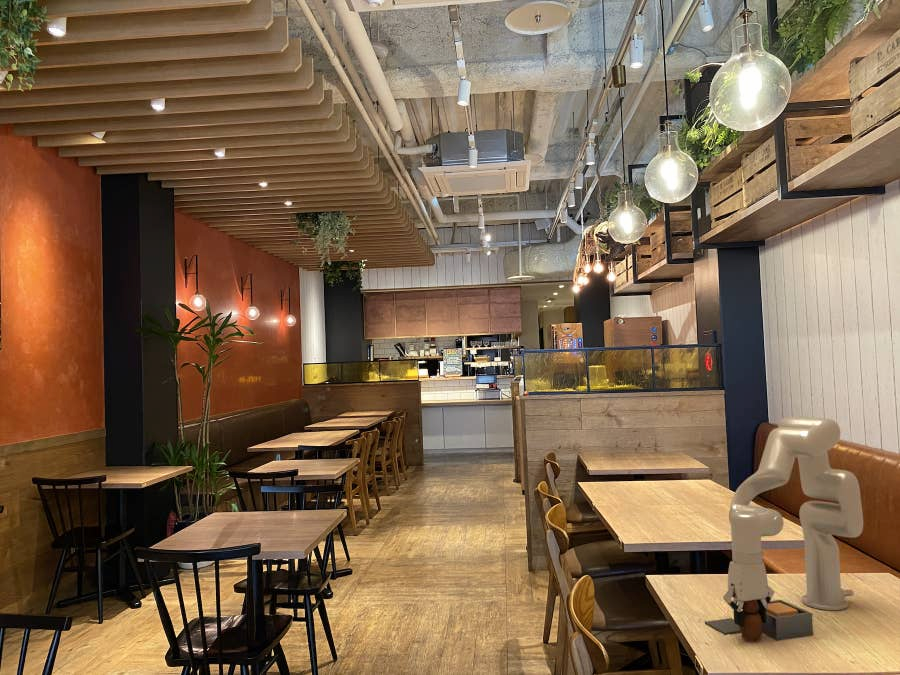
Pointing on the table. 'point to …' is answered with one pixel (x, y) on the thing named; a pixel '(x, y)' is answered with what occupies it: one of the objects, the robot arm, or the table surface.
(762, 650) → the table surface
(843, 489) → the robot arm
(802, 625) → the box
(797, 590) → the table surface
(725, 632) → the mat
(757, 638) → the wooden figurine
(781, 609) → the button
